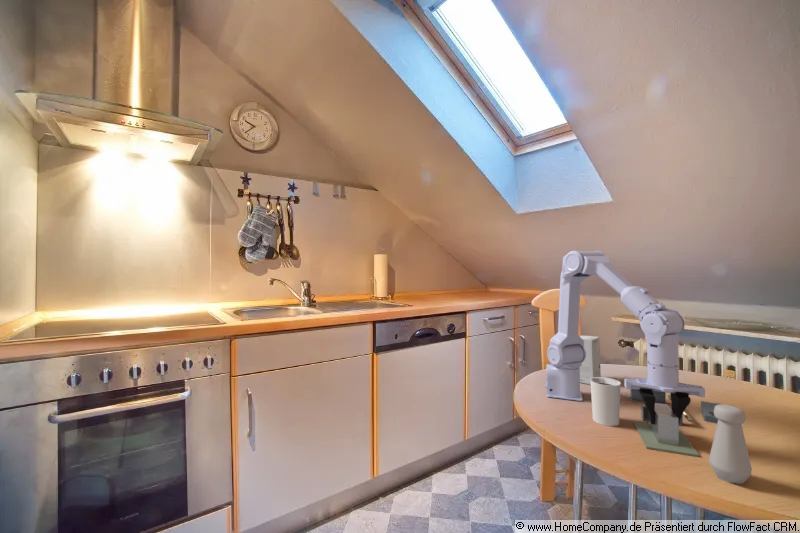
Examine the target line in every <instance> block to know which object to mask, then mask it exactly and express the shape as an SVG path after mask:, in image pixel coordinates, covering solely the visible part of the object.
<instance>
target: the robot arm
mask: <svg viewBox="0 0 800 533" xmlns="http://www.w3.org/2000/svg"><path fill="white" fill-rule="evenodd" d="M561 268H562V270H561V272H560V279H559V280H560V281H559V302H558V323H557V324H558V325H557V333H556V334H554V335H553V336H552V337H551V338H550V339H549V345H548V347H547V351H546V356H547V360H548V361H549V362H550V364H549V363H547V364H546V382H545V389H546V397H548V398H554V399H562V400H570V401H578V402H583V395H582V391H581V383H580V366H582V362H584V360H585V358H586V351H585V348H584V340H583V339H582V338H581V337H580V336H581V335H579V325H580V321H579V320H580V307H581V306H580V302H581V285H582V282H584V281H585V280H586V279H587V278H589V277H591V276H596V277H599V278H600V279H601V280H602V281H604V282H605V283H606V284H607V285H608V286H609V287H610V288H612V289H613V290H614V291H615V292H616V293H618V294H619V295H620V302H621V304H622V305H623V306H625V308H627V310H629V312H631V313H632V314H633V315H634V317H636V318H637V319H638V321H640V322H639V325H640V329H641V330H642V332H643V333H644V338H645V339H644V340H645V341H646V372H647V374H646V376H647V378H624V380H623V381H624V388H625V390H629V391H630V390H631V389H638V391H639V393H640V394H641V397H642V399H643V401H644V402H643V404H645V406H646V409H647V412H648V416H649V421H650V423H651V424H654V425H655V411H654V410H655V396H654V393H653V392H652V391H658V392H666V393H667V394H669V393H670V394H669V395H671V400H670V403H671V407H672V411H673V412H674V413H675V414H676V416H677V417H678V427H679V422H680V419H681V416H682V414H683V412H684V410H685V411H686V409H687V407H688V406H689V405H690V404H691V400H692V399H691V397H690V396H696V397H699V398H705V397H706V388H705V387H704V386H702V385H697V384H692V383H691V384H689V383H683V382H680V370H679V368H680V367H679V366H680V363H679V362H680V361H679V358H680V357H679V356H680V355H679V351H680V350H679V334H681V333H683V330H684V329H685V326H686V325H685V320H684V318H683V316H682V315H681V314H680V313H679V311H678V310H676V309H672V308H667V307H666V305H665V304H664V303H663V302H659V301H658V300H657V299H656V298H655V297H654V296H652V295H651V294H650V293H649V292H650V290H649V289H648V288H647V287H642V286H639V285H636V286H635V285H632V284H631V282H630V281H629V280H628V279H627V278H626V277H625V276H624V275H623V274H622V273H621V272H620V271H619V270H618V269H617V268H616V266H614V264H612V263H611V259H610V257H609V256H607V255H606V254H605V253H604V252H602V251H600V250H594V251H593V250H592V251H591V250H589V251H587V250H585V251H584V250H579V251H578V250H571V251H569V252H568V253H567V254H565V255H564V256H563V257H562V267H561ZM649 421H648V422H649Z"/></svg>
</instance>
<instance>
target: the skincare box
mask: <svg viewBox="0 0 800 533" xmlns="http://www.w3.org/2000/svg"><path fill="white" fill-rule="evenodd" d="M579 336H580V337H581V338H582V339H583V340H584V348H585V351H586V358H585V360H584V362H582V366H580V384H581V383H582V384H585V385H590V386H591V382H590V379H591V378H593V377H602V374H601V373H602V372H601V351H600V343H601V342H600V336H595V335H594V336H593V335H584V334H583V335H579Z"/></svg>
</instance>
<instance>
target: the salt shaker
mask: <svg viewBox="0 0 800 533" xmlns="http://www.w3.org/2000/svg"><path fill="white" fill-rule="evenodd" d="M714 416H715V417H716V418H717V419H718V423H716V427H715V432H714V436H713V440H712V444H711V448H710V453H709V456H708V462H709V464H710V467H711V468H712V469H713V471H714V473H715V475H716V476H717V478H718V479H720V480H723V481H725V482H727V483H730V484H735V483H736V484H735V485H741V484H742V485H743V484H745V483H746V482H747V480H748V479H749V478H750V477H751V475H752V464H751V459H750V455H749V452H748V447H747V443H746V442H747V441H746V438H745V433H744V430H743V429H744V428H743V426H742V425H743V424H745V423H746V412H745V411H744V410H743V409H741V408H739V407H738V406H734V405H730V404H721V405H716V406H715V408H714Z"/></svg>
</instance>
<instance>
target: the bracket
mask: <svg viewBox="0 0 800 533" xmlns="http://www.w3.org/2000/svg"><path fill="white" fill-rule="evenodd" d="M716 405H722V404H721V403H716V402H709V401H704V400H701V401H700V409H701V412H702V417H703V420H704V421H705V422H708V423H711V424H717V423H718V419H717V418H716V417H715V416H714V408H715V406H716Z"/></svg>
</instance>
